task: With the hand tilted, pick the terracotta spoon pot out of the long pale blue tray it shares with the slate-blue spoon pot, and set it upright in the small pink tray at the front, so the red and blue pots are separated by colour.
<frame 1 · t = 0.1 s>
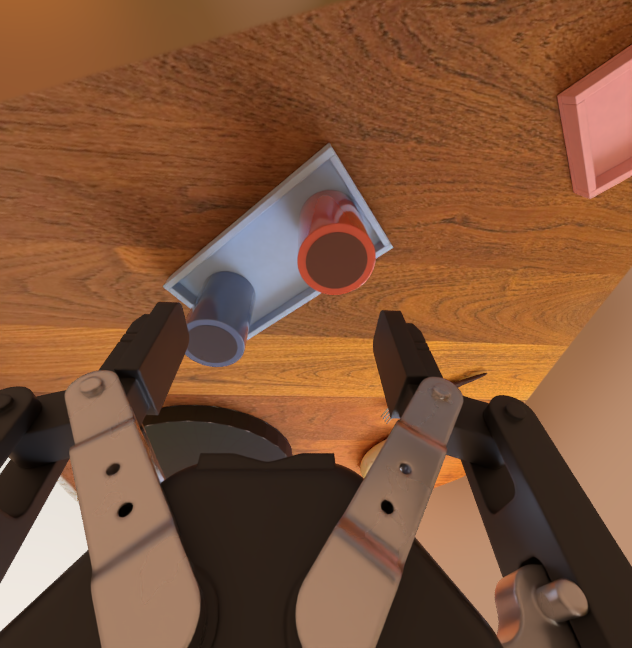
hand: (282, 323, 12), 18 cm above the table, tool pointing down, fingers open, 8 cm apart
fork: (429, 390, 45), on the table
pink tray: (626, 110, 23), on the table
disc: (209, 454, 54), on the table
blue spoon pot: (229, 294, 32), resting on blue tray
red spoon pot: (329, 221, 28), resting on blue tray
fruit: (384, 452, 56), on the table
blue tray: (275, 258, 30), on the table
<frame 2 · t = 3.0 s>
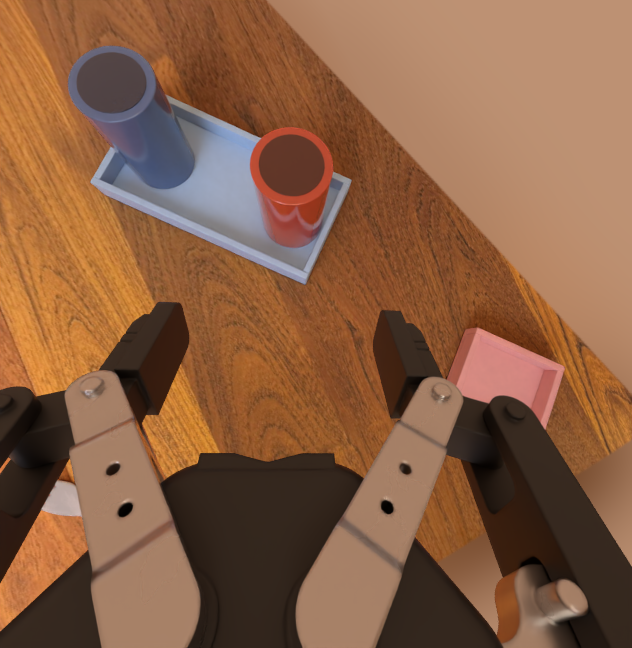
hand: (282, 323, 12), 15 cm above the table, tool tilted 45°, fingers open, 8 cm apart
fork: (116, 522, 25), on the table
pink tray: (491, 390, 28), on the table
blue spoon pot: (164, 160, 28), resting on blue tray
red spoon pot: (292, 219, 28), resting on blue tray
blue tray: (229, 193, 28), on the table
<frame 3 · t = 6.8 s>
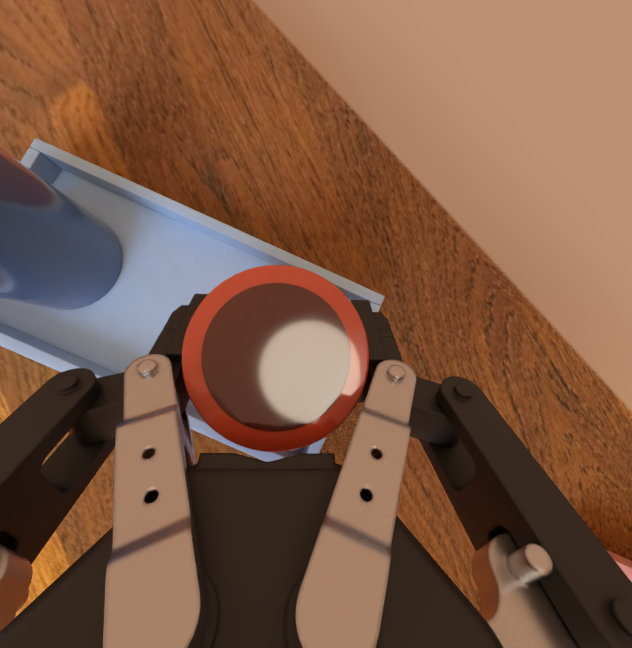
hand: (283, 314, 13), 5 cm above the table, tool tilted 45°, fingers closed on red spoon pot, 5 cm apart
blue spoon pot: (70, 260, 17), resting on blue tray
red spoon pot: (285, 356, 17), point 1 cm above the table, touching blue tray, gripper
blue tray: (182, 309, 17), on the table
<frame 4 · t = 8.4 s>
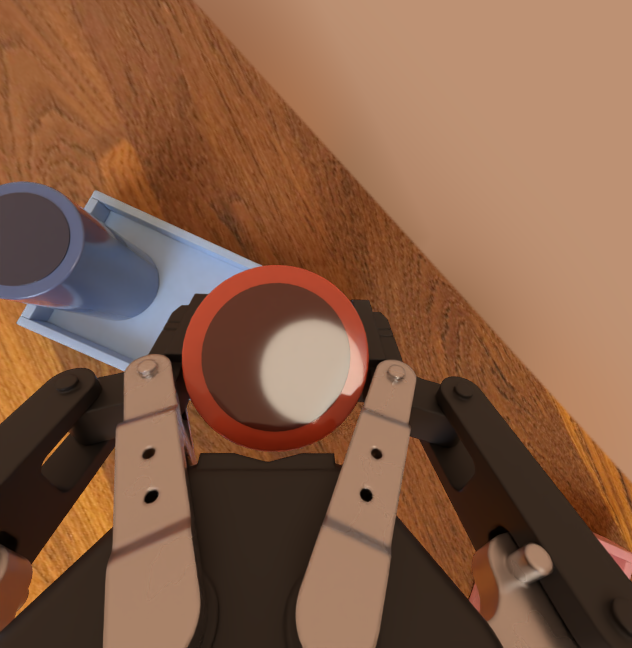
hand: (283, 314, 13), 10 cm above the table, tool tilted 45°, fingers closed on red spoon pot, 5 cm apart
pink tray: (537, 574, 22), on the table
blue spoon pot: (119, 282, 22), resting on blue tray
red spoon pot: (285, 356, 17), point 6 cm above the table, touching gripper
blue tray: (204, 320, 22), on the table
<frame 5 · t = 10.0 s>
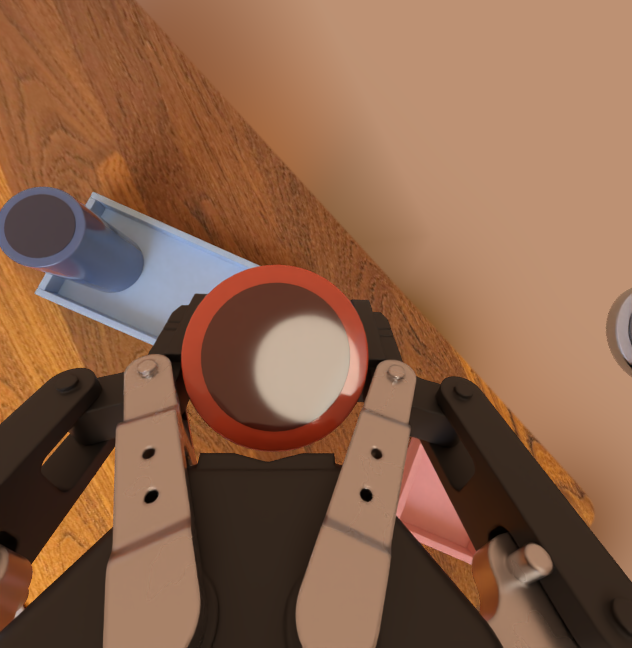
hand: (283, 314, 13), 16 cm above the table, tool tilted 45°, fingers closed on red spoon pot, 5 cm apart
pink tray: (440, 489, 28), on the table
blue spoon pot: (112, 263, 28), resting on blue tray
red spoon pot: (285, 355, 17), point 12 cm above the table, touching gripper
blue tray: (179, 293, 28), on the table
when the fingers open (5 cm above the table, at t = 16.1 s): red spoon pot stays where it is, resting on pink tray.
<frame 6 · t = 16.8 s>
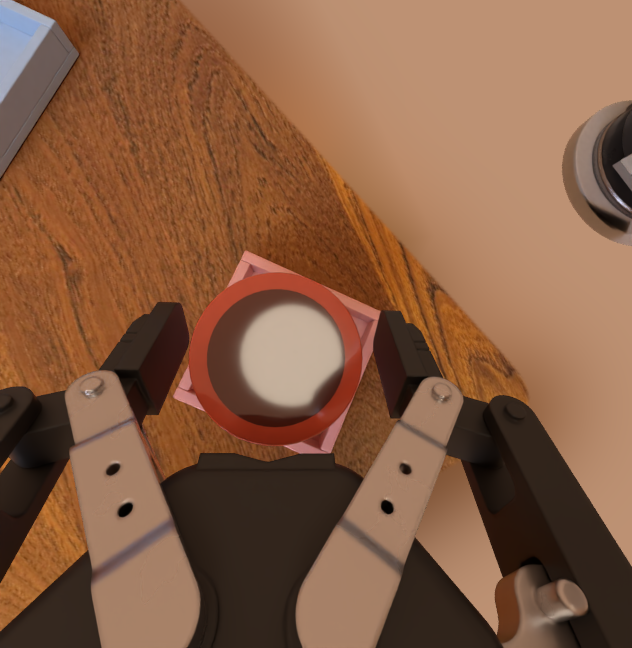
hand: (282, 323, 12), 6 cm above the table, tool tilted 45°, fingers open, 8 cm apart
pink tray: (285, 354, 18), on the table
red spoon pot: (284, 356, 18), resting on pink tray
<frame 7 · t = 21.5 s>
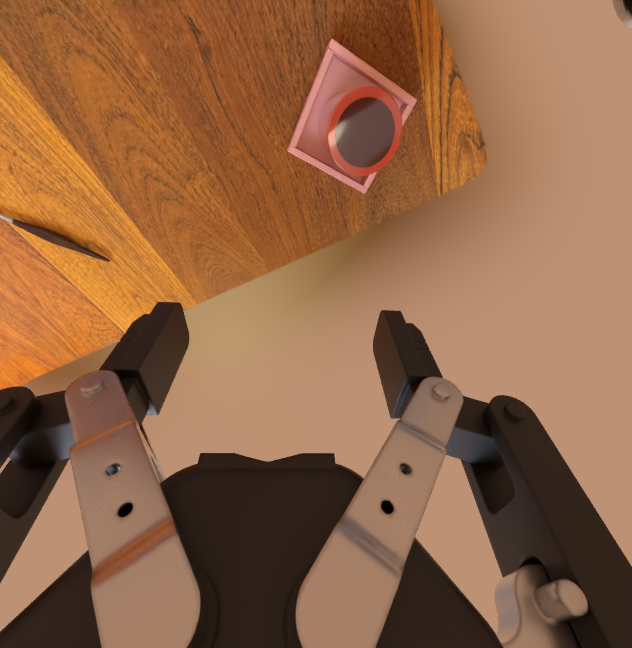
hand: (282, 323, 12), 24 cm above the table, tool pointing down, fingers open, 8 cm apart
fork: (30, 224, 32), on the table
pink tray: (347, 124, 29), on the table
red spoon pot: (347, 126, 29), resting on pink tray
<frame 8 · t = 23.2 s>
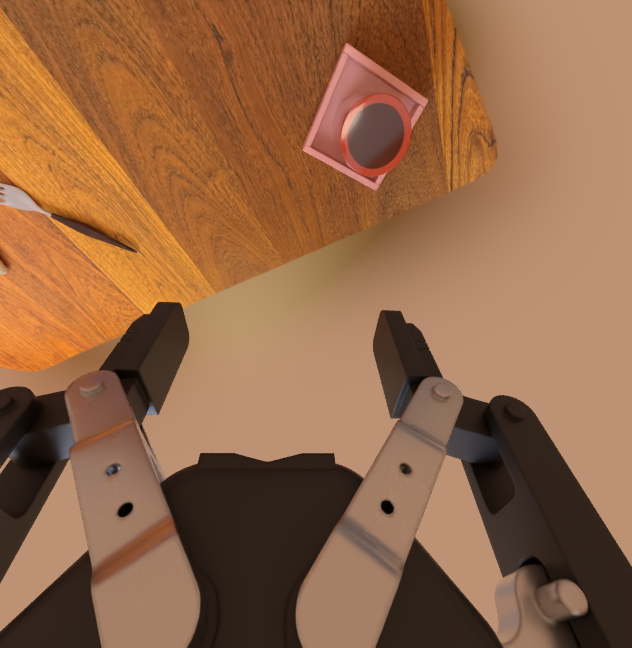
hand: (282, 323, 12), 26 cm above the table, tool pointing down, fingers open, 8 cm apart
fork: (66, 218, 35), on the table
pink tray: (360, 124, 30), on the table
red spoon pot: (360, 126, 30), resting on pink tray
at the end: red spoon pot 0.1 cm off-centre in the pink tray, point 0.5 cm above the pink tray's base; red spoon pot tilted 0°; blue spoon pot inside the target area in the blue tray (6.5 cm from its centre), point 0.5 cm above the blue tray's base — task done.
